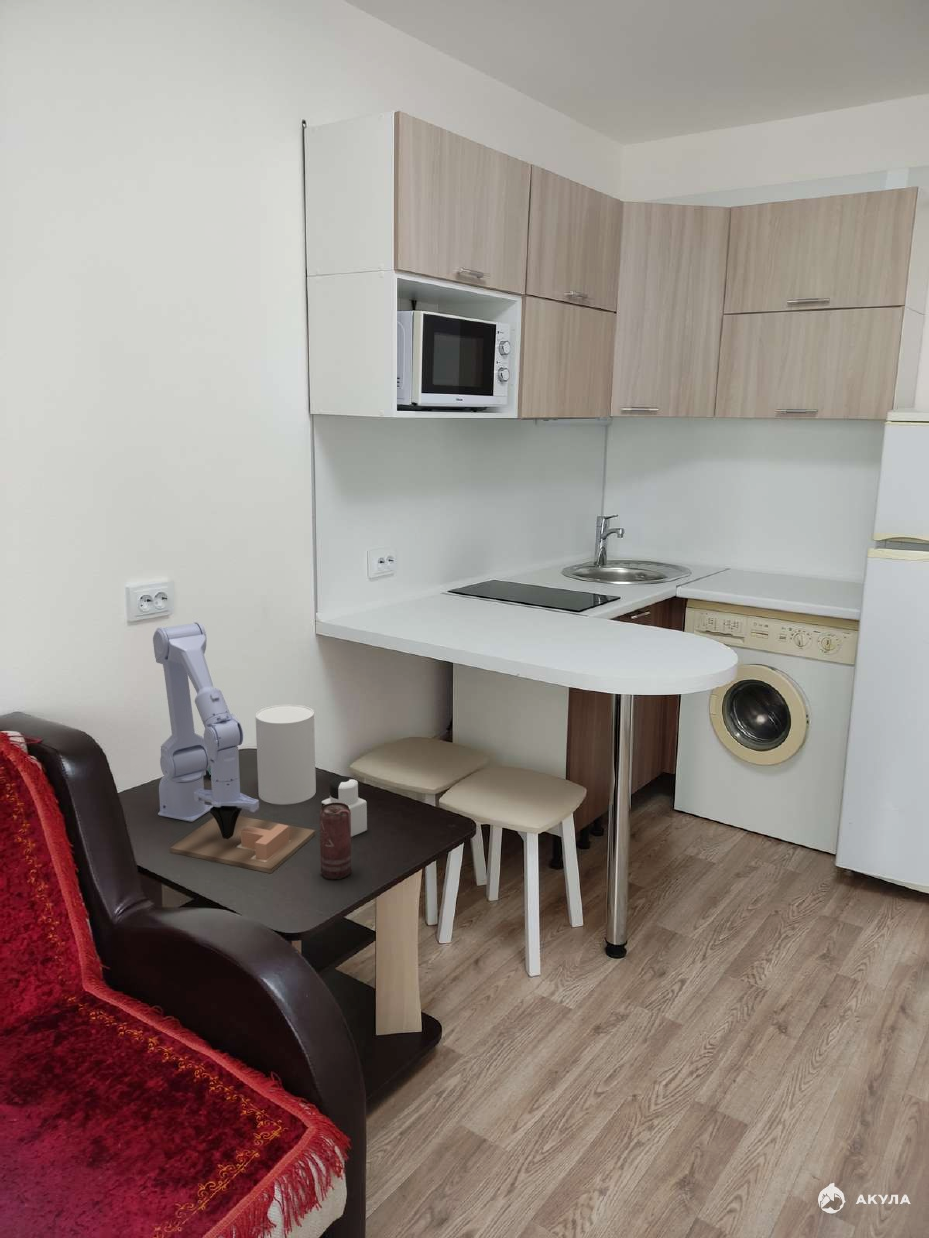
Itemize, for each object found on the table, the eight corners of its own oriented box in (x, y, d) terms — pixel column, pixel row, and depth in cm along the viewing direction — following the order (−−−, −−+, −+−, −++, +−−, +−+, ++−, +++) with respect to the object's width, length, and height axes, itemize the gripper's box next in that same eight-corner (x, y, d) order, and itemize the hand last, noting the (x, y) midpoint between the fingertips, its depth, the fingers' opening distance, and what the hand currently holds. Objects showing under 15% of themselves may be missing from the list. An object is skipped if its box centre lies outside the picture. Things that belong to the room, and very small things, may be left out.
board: (170, 852, 188) (170, 847, 188) (221, 816, 204) (221, 812, 204) (271, 873, 180) (270, 868, 180) (315, 834, 196) (315, 830, 196)
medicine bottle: (321, 830, 198) (320, 779, 196) (346, 820, 203) (345, 770, 201) (342, 841, 194) (341, 789, 191) (367, 830, 199) (367, 779, 196)
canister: (246, 795, 215) (243, 716, 211) (285, 776, 227) (283, 700, 222) (289, 809, 209) (286, 727, 204) (327, 789, 220) (325, 711, 215)
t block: (232, 853, 186) (231, 837, 185) (256, 834, 194) (256, 819, 193) (266, 860, 183) (265, 844, 182) (289, 841, 191) (288, 825, 190)
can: (347, 882, 177) (346, 816, 174) (316, 878, 178) (314, 812, 175) (356, 867, 183) (356, 803, 180) (327, 863, 184) (325, 799, 181)
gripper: (183, 778, 186) (187, 838, 189) (244, 789, 182) (247, 851, 185) (204, 766, 193) (207, 824, 196) (263, 776, 188) (265, 836, 191)
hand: (228, 836), depth 191 cm, fingers closed
